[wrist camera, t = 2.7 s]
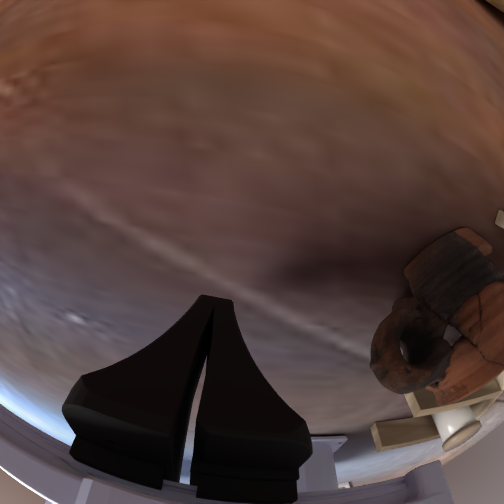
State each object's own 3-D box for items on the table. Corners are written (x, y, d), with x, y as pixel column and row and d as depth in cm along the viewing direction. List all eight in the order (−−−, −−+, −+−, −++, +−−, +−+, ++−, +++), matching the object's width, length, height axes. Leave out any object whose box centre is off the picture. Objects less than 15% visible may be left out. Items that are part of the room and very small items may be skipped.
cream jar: (445, 409, 21) (461, 445, 16) (419, 414, 20) (435, 455, 15) (468, 383, 19) (489, 421, 14) (443, 387, 19) (464, 430, 14)
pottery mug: (493, 207, 12) (559, 307, 7) (436, 288, 20) (478, 367, 14) (359, 244, 10) (455, 435, 5) (316, 337, 18) (360, 447, 12)
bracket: (460, 411, 22) (468, 428, 19) (370, 427, 21) (376, 451, 18) (558, 251, 13) (576, 264, 10) (498, 209, 12) (529, 225, 9)
